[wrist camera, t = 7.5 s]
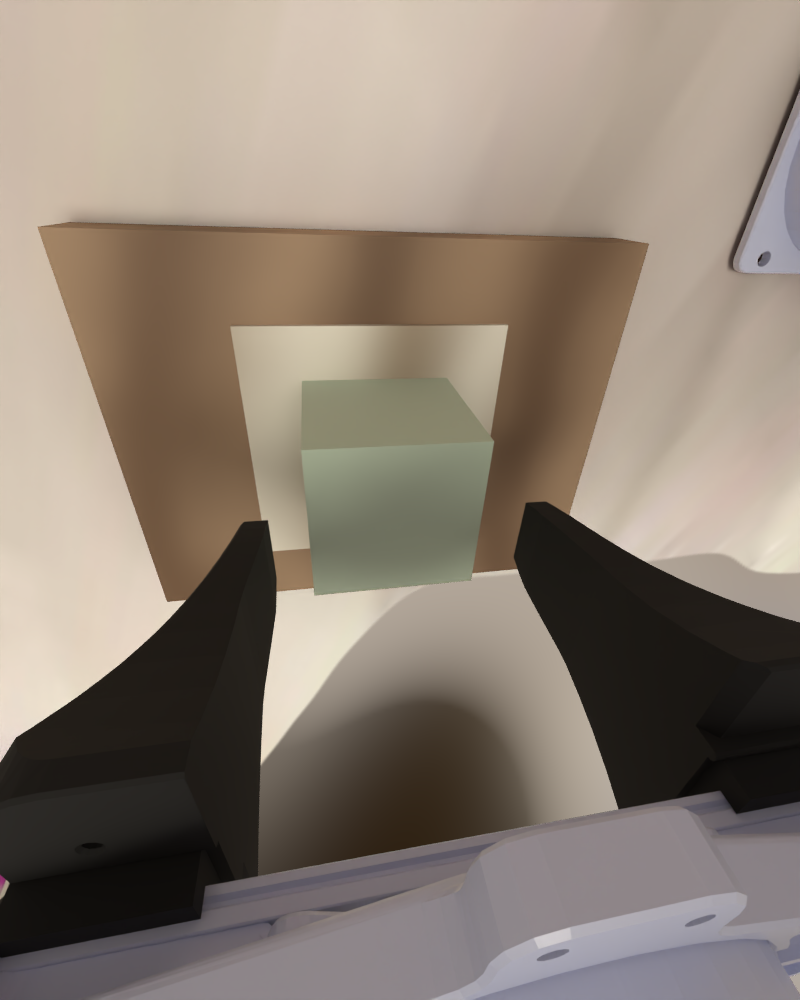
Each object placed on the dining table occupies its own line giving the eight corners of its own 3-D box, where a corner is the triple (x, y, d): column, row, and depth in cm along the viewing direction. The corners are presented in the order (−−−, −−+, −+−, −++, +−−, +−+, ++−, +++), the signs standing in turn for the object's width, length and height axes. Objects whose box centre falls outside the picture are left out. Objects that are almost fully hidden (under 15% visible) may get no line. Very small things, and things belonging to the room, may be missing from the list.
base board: (615, 238, 17) (652, 244, 15) (537, 540, 24) (555, 568, 23) (69, 222, 14) (33, 227, 12) (177, 570, 22) (166, 605, 20)
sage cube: (446, 377, 16) (494, 441, 12) (435, 495, 19) (470, 580, 15) (302, 380, 15) (301, 450, 11) (312, 504, 18) (314, 595, 14)
